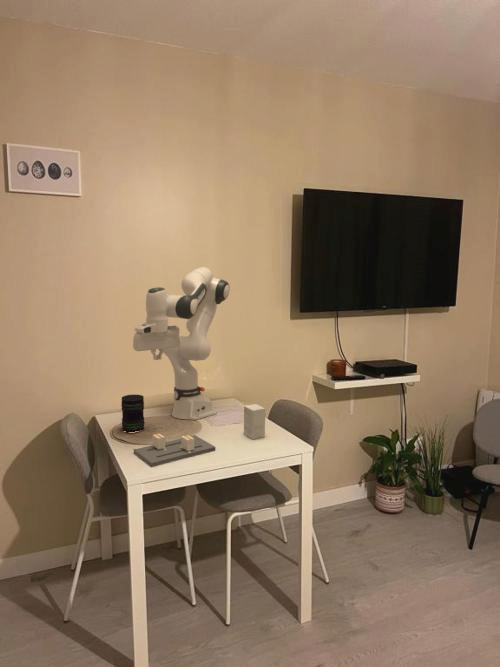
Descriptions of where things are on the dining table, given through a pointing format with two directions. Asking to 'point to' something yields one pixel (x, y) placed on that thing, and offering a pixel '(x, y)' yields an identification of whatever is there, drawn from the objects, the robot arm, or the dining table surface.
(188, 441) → the fader
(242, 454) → the dining table surface
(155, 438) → the fader
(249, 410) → the small box
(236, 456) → the dining table surface
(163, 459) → the console
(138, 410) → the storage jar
